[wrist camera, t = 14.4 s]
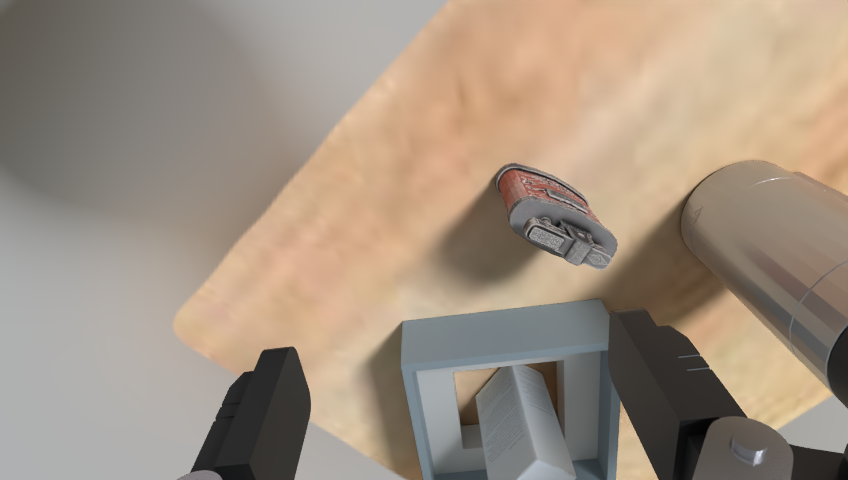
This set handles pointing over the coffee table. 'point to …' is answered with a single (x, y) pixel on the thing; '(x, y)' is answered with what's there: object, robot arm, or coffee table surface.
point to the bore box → (507, 346)
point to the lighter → (554, 216)
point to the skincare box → (521, 428)
